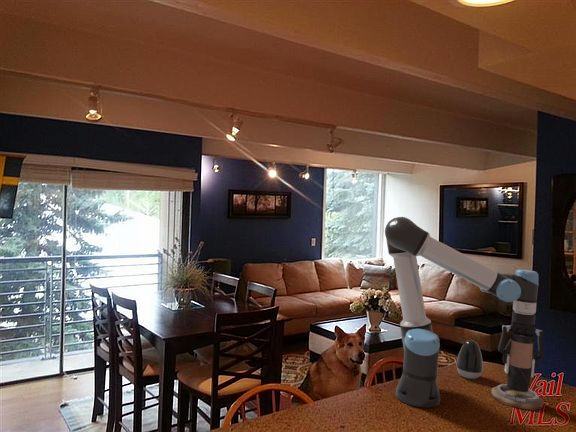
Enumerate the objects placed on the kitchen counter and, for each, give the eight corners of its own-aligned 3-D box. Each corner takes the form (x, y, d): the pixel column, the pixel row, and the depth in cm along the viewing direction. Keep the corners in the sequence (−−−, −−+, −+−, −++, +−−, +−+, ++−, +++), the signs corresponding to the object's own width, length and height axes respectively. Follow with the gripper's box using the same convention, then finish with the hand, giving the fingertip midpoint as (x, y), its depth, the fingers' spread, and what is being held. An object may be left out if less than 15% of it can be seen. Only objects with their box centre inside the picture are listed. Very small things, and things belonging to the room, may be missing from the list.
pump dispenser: (463, 370, 196) (466, 335, 196) (486, 378, 188) (489, 341, 188) (450, 374, 190) (453, 338, 189) (474, 383, 182) (477, 345, 181)
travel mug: (532, 393, 164) (537, 338, 163) (509, 390, 165) (513, 335, 165) (525, 385, 171) (530, 332, 171) (503, 382, 173) (508, 330, 172)
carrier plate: (495, 404, 163) (495, 396, 163) (488, 386, 179) (488, 379, 179) (548, 413, 158) (549, 405, 158) (536, 394, 174) (537, 387, 174)
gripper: (495, 310, 167) (490, 372, 168) (558, 318, 161) (552, 382, 162) (492, 306, 174) (487, 366, 175) (552, 314, 169) (547, 375, 169)
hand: (518, 374), depth 168 cm, fingers closed on travel mug, 8 cm apart
